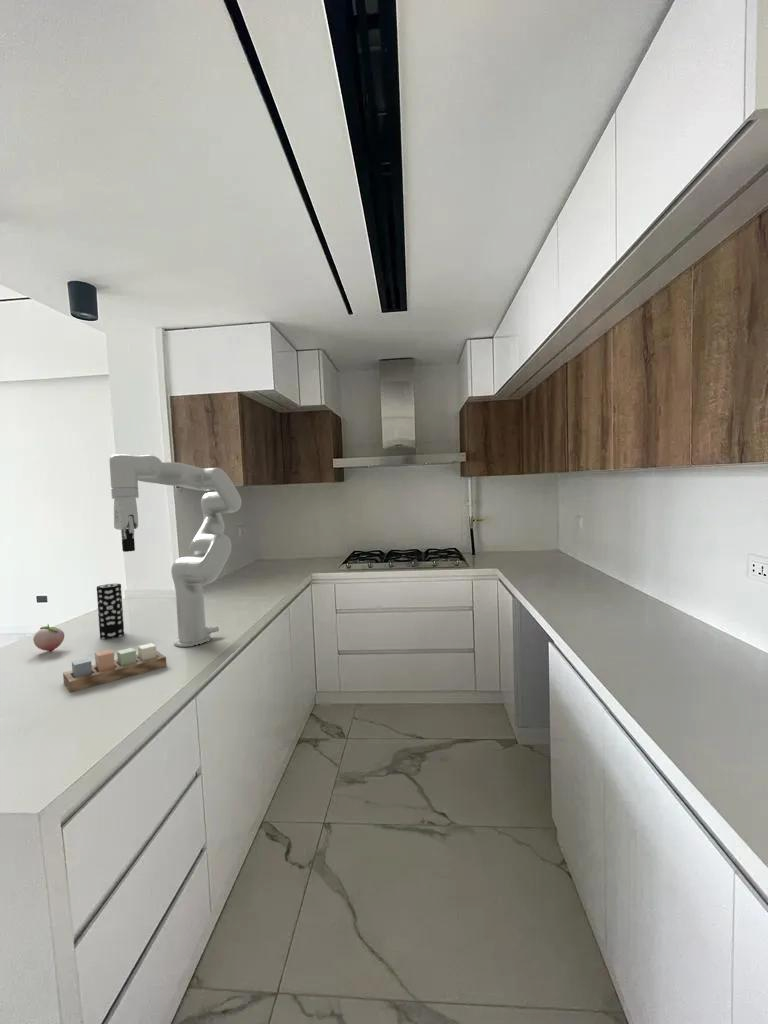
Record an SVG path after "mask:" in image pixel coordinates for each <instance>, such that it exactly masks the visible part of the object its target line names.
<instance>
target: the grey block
mask: <svg viewBox="0 0 768 1024" xmlns="http://www.w3.org/2000/svg"><path fill="white" fill-rule="evenodd" d="M71 669H72V670H71V671H72V673H73V678H76V677H80V676H84V675H88V674H92V660H91V659H90V658H89V657H86V658H85V657H84V658H81V659H77V660H73V661H71Z"/></svg>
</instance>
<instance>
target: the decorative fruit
mask: <svg viewBox="0 0 768 1024" xmlns="http://www.w3.org/2000/svg"><path fill="white" fill-rule="evenodd" d="M32 640H33V643H34V645H35V647H36V648H38V649H39V650H42V651H47V652H49V651H51V652H53V651H54V650H55V649H57V648H59V646H60V645H62V643H63V641H64V640H65V632H64V631H63V630H62V629H60V628H59V627H56V626H55V627H54V626H50V625H49V623H47V625H45V626H41V627H40V628H39V630H38V631H37V632H36V633H35V634H34V635H33V639H32Z"/></svg>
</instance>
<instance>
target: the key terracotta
mask: <svg viewBox="0 0 768 1024" xmlns="http://www.w3.org/2000/svg"><path fill="white" fill-rule="evenodd" d="M94 660H95V661H94V662H95V665H96V670H97V671H98V672H99V671H103V670H107V669H111V668H115V662H114V660H115V652H114V651H113V650H112V649H105V650H102V651H101V650H100V651H97V652H95V653H94Z"/></svg>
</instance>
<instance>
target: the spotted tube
mask: <svg viewBox="0 0 768 1024" xmlns="http://www.w3.org/2000/svg"><path fill="white" fill-rule="evenodd" d="M122 593H123V592H122V583H107V584H102V585H97V586H96V600H97V611H98V613H97V614H98V627H99V639H100V638H101V640H111V639H112V638H113V639H117V638H120V637H122V636H124V635H125V626H124V625H125V624H124V623H125V622H124V610H123V609H124V608H123V597H122Z"/></svg>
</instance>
